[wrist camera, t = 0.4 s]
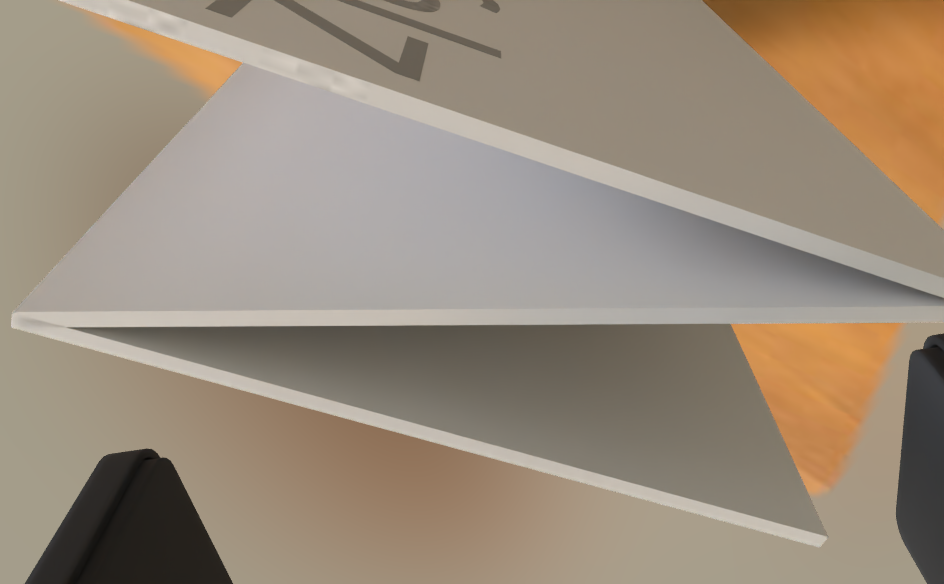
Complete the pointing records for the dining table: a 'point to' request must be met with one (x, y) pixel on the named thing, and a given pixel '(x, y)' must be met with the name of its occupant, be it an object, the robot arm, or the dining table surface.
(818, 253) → the brochure
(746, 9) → the dining table surface
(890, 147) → the dining table surface
